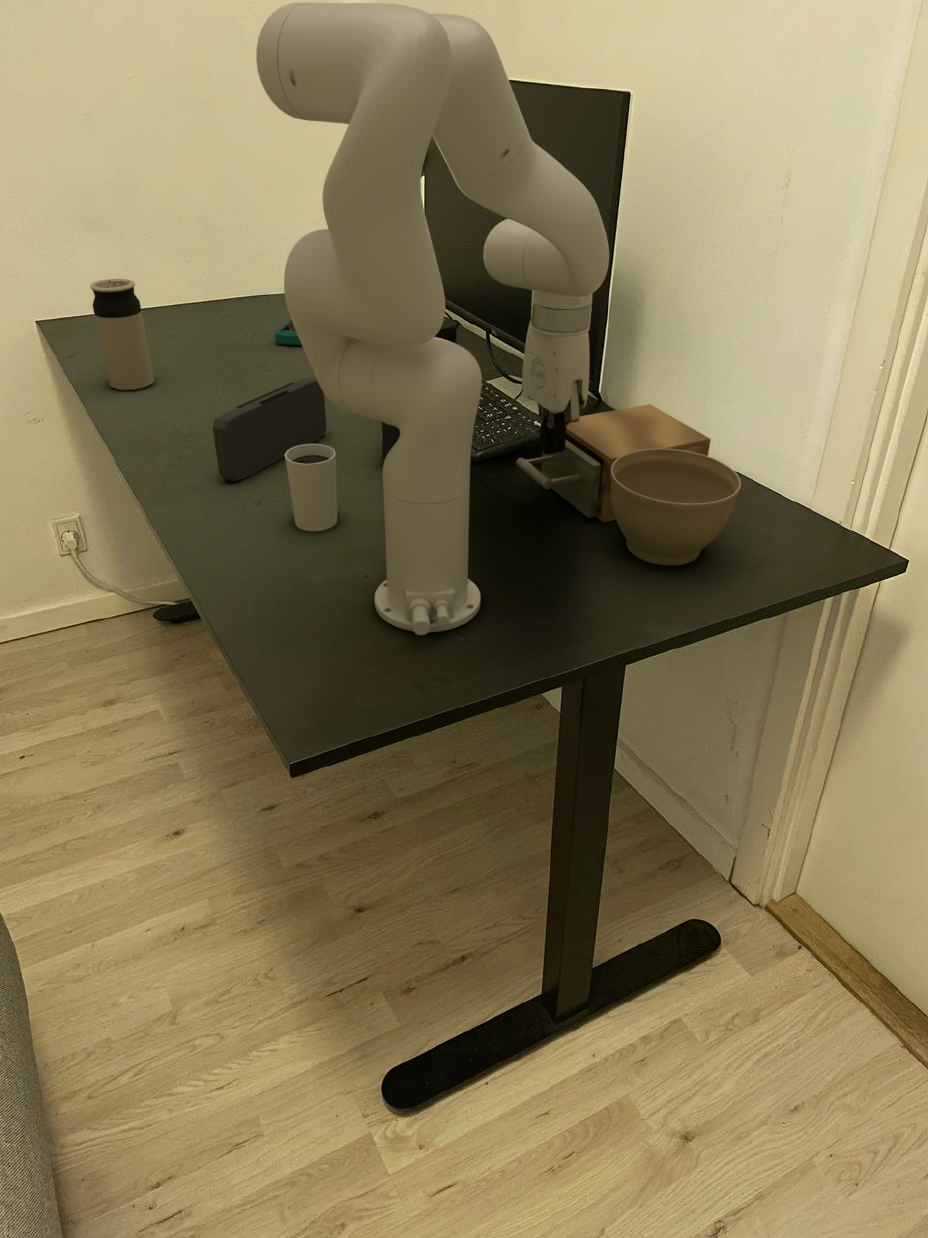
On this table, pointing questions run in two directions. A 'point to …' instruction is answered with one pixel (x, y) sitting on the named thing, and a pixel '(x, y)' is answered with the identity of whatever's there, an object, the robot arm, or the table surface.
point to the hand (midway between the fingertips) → (551, 450)
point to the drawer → (571, 475)
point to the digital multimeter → (287, 335)
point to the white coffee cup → (313, 486)
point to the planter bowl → (671, 502)
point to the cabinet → (632, 439)
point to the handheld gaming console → (268, 428)
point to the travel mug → (122, 334)
